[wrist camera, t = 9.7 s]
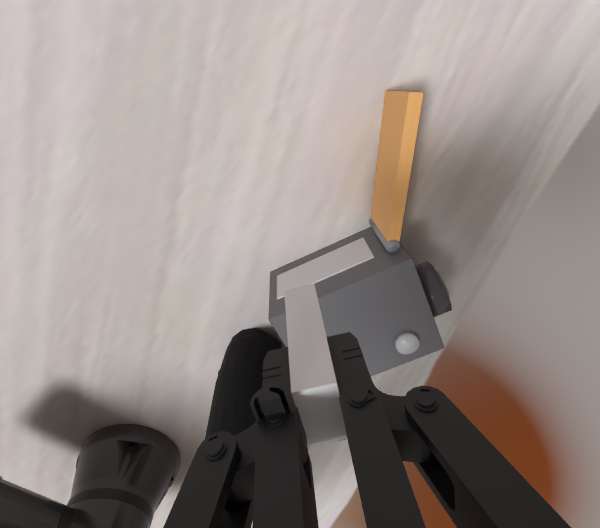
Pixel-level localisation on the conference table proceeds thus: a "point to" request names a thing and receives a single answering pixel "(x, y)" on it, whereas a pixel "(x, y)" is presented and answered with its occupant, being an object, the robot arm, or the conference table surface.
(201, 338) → the conference table surface
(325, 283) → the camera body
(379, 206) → the side door
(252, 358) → the portable speaker
